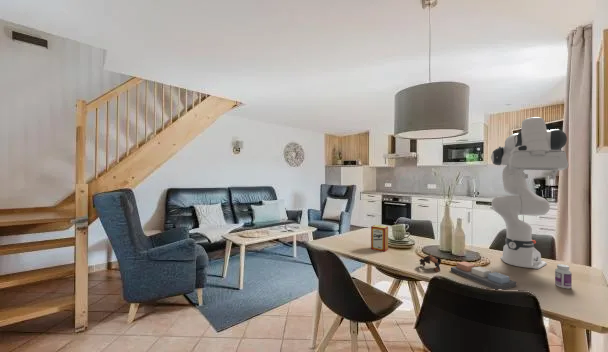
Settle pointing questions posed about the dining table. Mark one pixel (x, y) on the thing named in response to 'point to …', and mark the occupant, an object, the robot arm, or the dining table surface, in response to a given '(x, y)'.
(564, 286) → the pill bottle
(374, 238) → the baking soda box
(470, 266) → the terracotta button
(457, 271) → the button panel
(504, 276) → the slate button
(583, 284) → the dining table surface
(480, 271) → the cream button
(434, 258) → the brown black arched toy
